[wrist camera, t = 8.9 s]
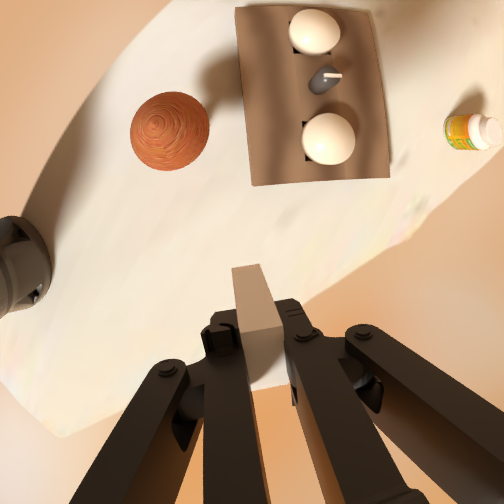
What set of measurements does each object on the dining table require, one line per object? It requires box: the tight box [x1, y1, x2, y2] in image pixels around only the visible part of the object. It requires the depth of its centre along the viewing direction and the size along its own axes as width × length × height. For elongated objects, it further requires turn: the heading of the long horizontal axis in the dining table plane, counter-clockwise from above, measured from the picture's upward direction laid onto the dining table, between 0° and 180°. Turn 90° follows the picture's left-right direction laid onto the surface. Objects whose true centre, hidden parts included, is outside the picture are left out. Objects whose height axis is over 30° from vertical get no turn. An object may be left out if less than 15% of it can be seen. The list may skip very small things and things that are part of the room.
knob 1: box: [287, 9, 340, 56], centre depth 31 cm, size 6×6×6 cm
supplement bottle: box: [443, 114, 503, 150], centre depth 34 cm, size 5×5×10 cm
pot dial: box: [308, 66, 342, 95], centre depth 31 cm, size 2×2×5 cm
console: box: [235, 6, 390, 186], centre depth 34 cm, size 18×24×3 cm
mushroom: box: [130, 92, 209, 171], centre depth 29 cm, size 8×8×15 cm
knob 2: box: [300, 113, 355, 165], centre depth 35 cm, size 6×6×6 cm
